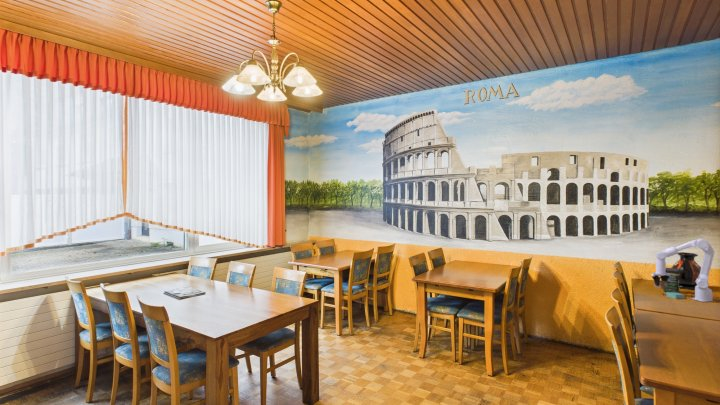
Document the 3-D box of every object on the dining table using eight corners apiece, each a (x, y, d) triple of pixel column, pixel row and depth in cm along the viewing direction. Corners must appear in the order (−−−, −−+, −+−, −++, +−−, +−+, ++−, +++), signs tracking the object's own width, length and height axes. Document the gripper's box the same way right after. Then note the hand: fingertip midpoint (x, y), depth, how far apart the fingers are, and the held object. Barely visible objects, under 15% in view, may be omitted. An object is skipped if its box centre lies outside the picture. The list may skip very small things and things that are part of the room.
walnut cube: (659, 286, 285) (659, 280, 285) (666, 288, 281) (666, 281, 280) (654, 287, 285) (654, 280, 285) (660, 288, 280) (660, 281, 280)
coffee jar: (662, 291, 292) (663, 268, 291) (663, 289, 298) (664, 266, 297) (679, 294, 285) (680, 269, 285) (679, 292, 291) (680, 268, 291)
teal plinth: (674, 295, 280) (674, 291, 279) (683, 298, 273) (683, 294, 273) (666, 296, 278) (666, 292, 278) (675, 298, 271) (675, 294, 271)
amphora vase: (672, 283, 321) (673, 250, 320) (706, 288, 304) (707, 253, 303) (666, 286, 307) (667, 253, 306) (701, 292, 290) (702, 256, 290)
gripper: (663, 266, 287) (663, 283, 288) (647, 266, 285) (647, 284, 285) (672, 268, 280) (672, 286, 281) (656, 268, 278) (655, 286, 278)
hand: (660, 285), depth 283 cm, fingers closed on walnut cube, 5 cm apart
